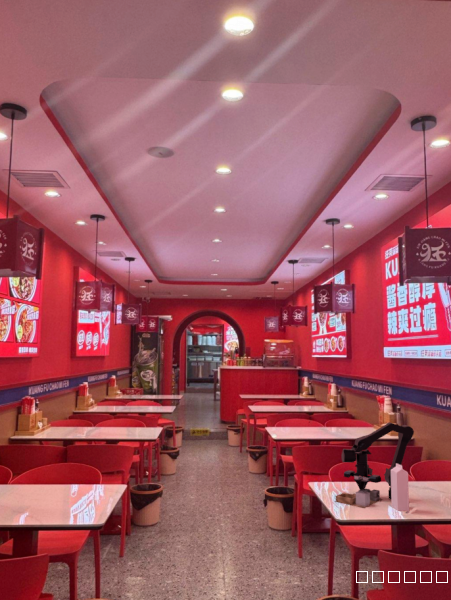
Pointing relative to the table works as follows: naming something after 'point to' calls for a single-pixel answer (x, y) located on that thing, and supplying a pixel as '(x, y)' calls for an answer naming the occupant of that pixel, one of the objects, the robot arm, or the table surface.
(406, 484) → the milk
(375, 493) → the frame
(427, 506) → the table surface
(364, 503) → the block
